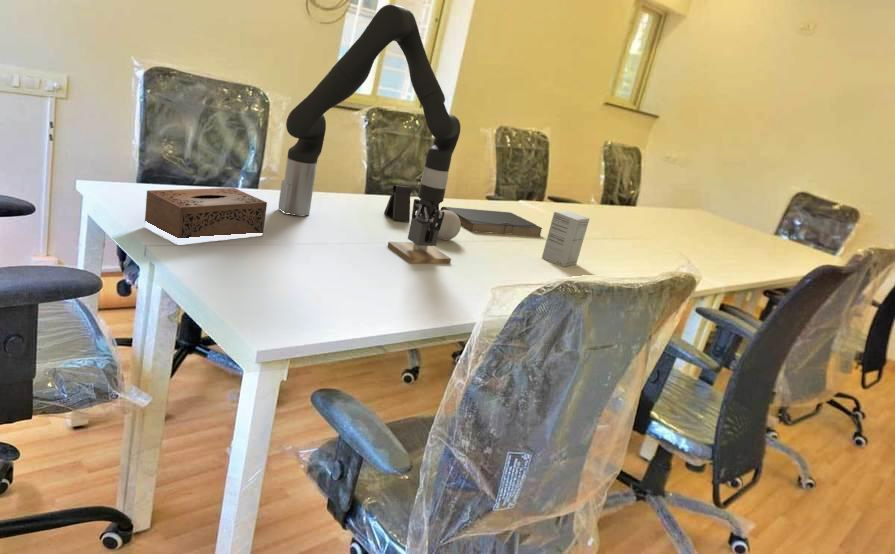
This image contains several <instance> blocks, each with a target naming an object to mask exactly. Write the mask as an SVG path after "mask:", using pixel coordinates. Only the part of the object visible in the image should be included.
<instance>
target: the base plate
mask: <svg viewBox="0 0 895 554" xmlns="http://www.w3.org/2000/svg"><path fill="white" fill-rule="evenodd" d="M413 246H414V243H413V242H412V241H411V242H410V241H409V242H407V241H406V242H405V241H404V242H403V241H388V242H387V247H388V248H389V249H390V248H391V249H390V250H392V251H393V252H394V251H395V253H396V254H397V255H399V257H401V258H403V259H404V260H405V261H406V262H408V263H410V264H451V262H452V258H451V257H450V256H448V255H446V254H445V253H443V252H442V251H440V250H439V249H438V248H436V247H435V246H428V247H427V252H417V251H416V250H415V249H413Z"/></svg>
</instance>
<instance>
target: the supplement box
mask: <svg viewBox="0 0 895 554" xmlns="http://www.w3.org/2000/svg"><path fill="white" fill-rule="evenodd" d="M551 219H552V220H551V222H550V227H549V230H548V233H547V236H546V237H547V238H546V241H545V244H544V247H543V252H542V255H541V256H542V257H541V258H542V259H544V260H546V261H547V262H550V263H553V264H556V265H557V266H560V267H563V268H564V267H565V268H566V267H569V266H574V265H577V263H578V259H579V256H580V253H581V249H582V247H583V246H582V245H583V243H584V239H585V237H586V232H587V230H588V225H589V223H590V218H589V217H588V216H587V217H586V216H584V215H581V214H578V213H575V212H573V211H570V210H562V211H561V210H559V211H553V215H552V218H551Z"/></svg>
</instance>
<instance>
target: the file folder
mask: <svg viewBox="0 0 895 554" xmlns="http://www.w3.org/2000/svg"><path fill="white" fill-rule="evenodd" d="M439 210H440V211H442V210H450V211H452V212H454V213H455V214H457V216H458V217H459V219H460V222H461V225H462V226H461V227H463V226H464V227H463V228H465V229H466V228H467V231H470V232H472V231H477V232H476V233H486V232H492V233H491V234H506V233H512V234H511V235H524V234H528V235H527V236H535V235H539V236H538V237H540V236H541V233H542V229H543V227H541V226H539V225H537V224H535V223H534V222H532V221H530V220H527V219H526V218H523V217H521V216H519V215H517V214H514V213H513V212H510V211H497V210H486V209H485V210H484V209H475V208H474V209H473V208H463V207H450V206H442V207H440V209H439Z"/></svg>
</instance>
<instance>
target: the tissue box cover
mask: <svg viewBox="0 0 895 554" xmlns="http://www.w3.org/2000/svg"><path fill="white" fill-rule="evenodd" d="M145 200H146V201H145V202H146V203H145V216H144V222H145V221H147V222H148V223H150V224H152V225H154V226H156V227H157V228H159V229H161V230H163V231H165V232H167V233H169V234H171V235H173V236H175V237H177V238H189V237H200V236H214V235H231V234H246V233H263V234H264V229H265V221H266V215H267V206H268V202H267V201H266V200H263V199H260V198H258V197H256V196H253V195H251V194H249V193H246V192H245V191H241V190H239V189H238V188H235V187H221V188H220V187H217V188H215V187H214V188H188V189H187V188H185V189H180V188H179V189H157V190H154V189H153V190H152V189H151V190H149V189H148V190H146V199H145Z"/></svg>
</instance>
